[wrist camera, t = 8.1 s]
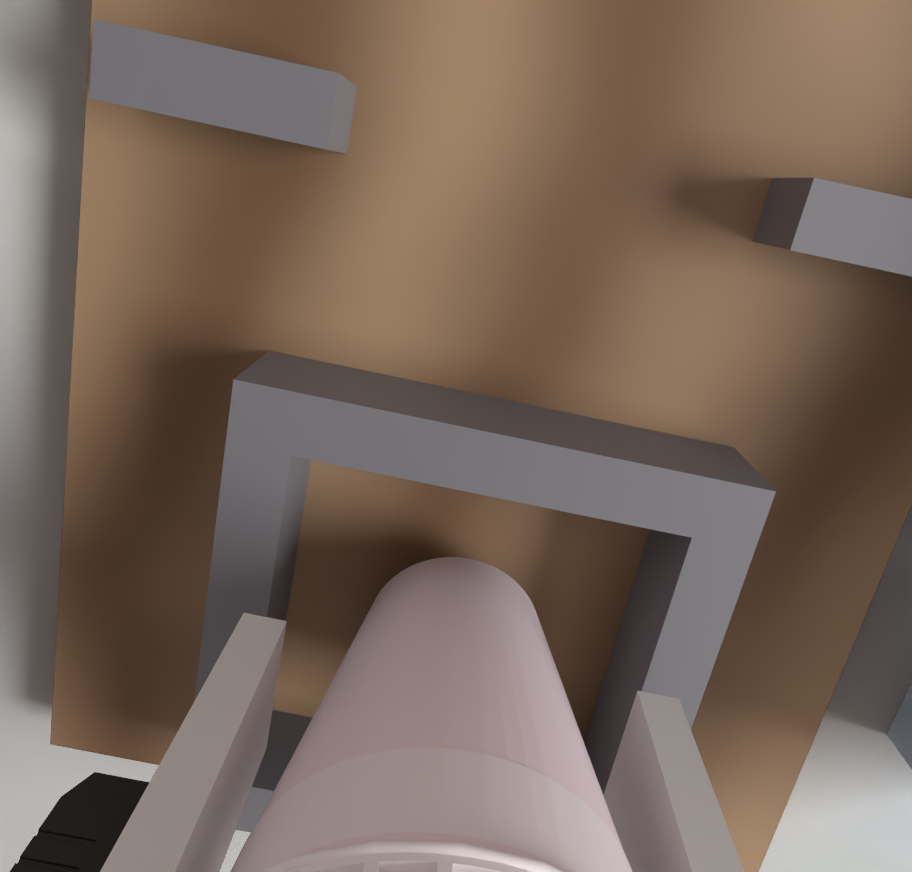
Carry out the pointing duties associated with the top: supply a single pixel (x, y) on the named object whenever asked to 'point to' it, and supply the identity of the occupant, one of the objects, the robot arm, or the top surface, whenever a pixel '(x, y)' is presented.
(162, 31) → the jig board
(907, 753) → the light blue rectangular block
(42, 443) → the top surface
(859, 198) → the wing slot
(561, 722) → the smoothie
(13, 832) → the top surface
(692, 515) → the frame
